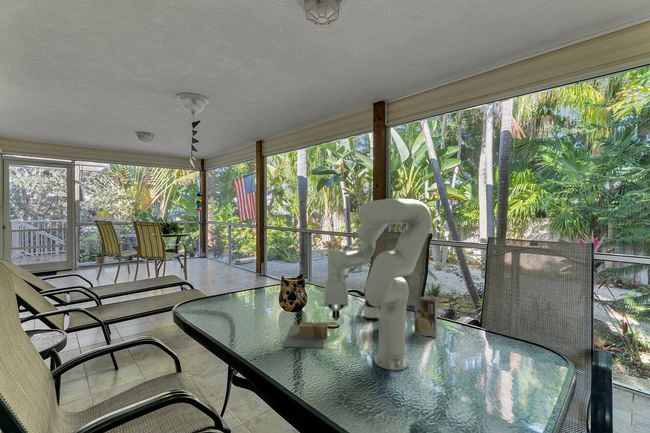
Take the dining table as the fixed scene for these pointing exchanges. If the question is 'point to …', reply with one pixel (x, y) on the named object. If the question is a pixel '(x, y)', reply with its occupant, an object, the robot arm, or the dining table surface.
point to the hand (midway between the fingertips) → (335, 319)
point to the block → (313, 330)
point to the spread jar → (369, 311)
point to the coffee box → (426, 316)
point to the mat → (302, 340)
